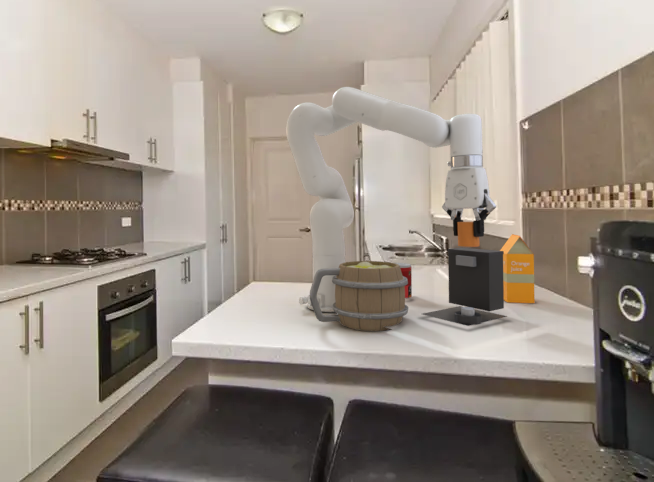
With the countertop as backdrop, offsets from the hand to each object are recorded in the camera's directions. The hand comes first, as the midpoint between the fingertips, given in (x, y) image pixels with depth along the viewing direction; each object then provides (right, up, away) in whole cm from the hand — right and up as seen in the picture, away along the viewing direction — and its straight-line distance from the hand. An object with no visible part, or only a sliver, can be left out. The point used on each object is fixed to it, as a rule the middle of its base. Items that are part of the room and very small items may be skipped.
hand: (468, 235), depth 114 cm
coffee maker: (+3, -19, +5) cm, 20 cm away
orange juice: (+25, -22, +25) cm, 42 cm away
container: (0, -3, 0) cm, 3 cm away
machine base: (0, -22, +2) cm, 22 cm away
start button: (-2, -19, -4) cm, 20 cm away
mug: (-28, -22, -1) cm, 36 cm away
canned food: (-10, -22, +28) cm, 37 cm away
